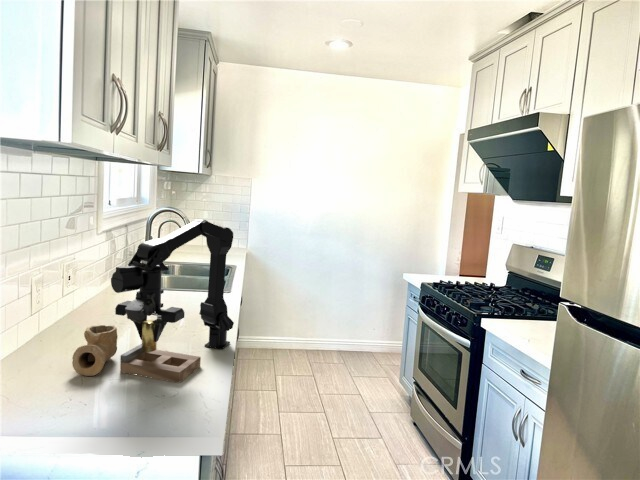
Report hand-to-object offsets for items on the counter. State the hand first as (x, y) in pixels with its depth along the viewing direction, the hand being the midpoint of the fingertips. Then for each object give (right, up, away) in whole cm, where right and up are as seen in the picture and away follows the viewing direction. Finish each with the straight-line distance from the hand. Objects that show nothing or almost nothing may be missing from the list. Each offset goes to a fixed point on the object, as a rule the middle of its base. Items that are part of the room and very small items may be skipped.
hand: (149, 340), depth 134 cm
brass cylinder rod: (0, -3, 0) cm, 3 cm away
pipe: (-15, -7, 0) cm, 17 cm away
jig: (+3, -8, 0) cm, 9 cm away
